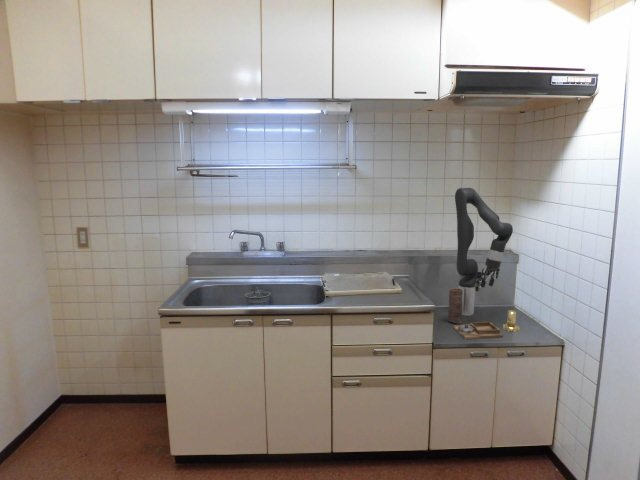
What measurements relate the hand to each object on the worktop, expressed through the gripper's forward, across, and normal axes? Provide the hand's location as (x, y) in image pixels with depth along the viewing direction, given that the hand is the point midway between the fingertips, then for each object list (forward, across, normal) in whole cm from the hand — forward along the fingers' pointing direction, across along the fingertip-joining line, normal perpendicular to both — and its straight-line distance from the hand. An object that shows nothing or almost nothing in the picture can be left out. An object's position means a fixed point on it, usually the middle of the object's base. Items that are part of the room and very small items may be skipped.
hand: (486, 286), depth 225 cm
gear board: (+23, +9, +7) cm, 26 cm away
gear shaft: (+19, -9, +16) cm, 26 cm away
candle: (+25, +6, -9) cm, 27 cm away
